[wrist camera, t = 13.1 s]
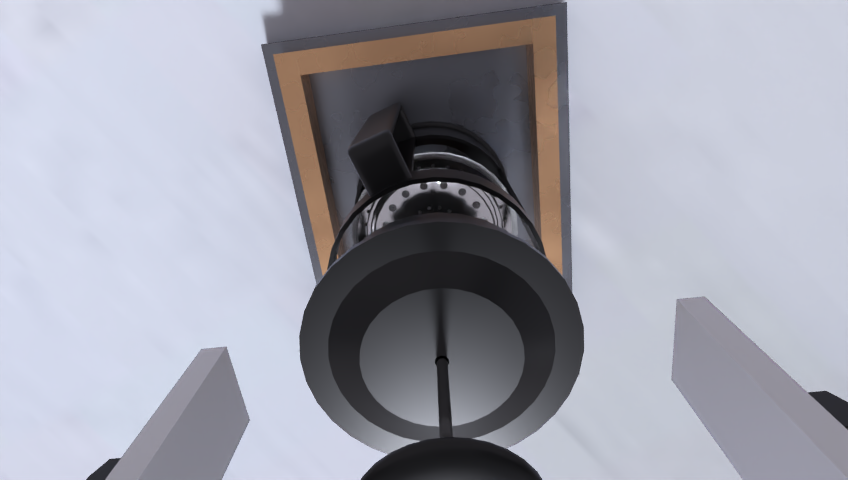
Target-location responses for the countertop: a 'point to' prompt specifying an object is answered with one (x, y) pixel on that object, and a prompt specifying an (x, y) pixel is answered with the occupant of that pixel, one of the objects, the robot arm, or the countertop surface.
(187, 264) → the countertop surface
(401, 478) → the french press
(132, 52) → the countertop surface
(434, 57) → the rectangular wooden frame
